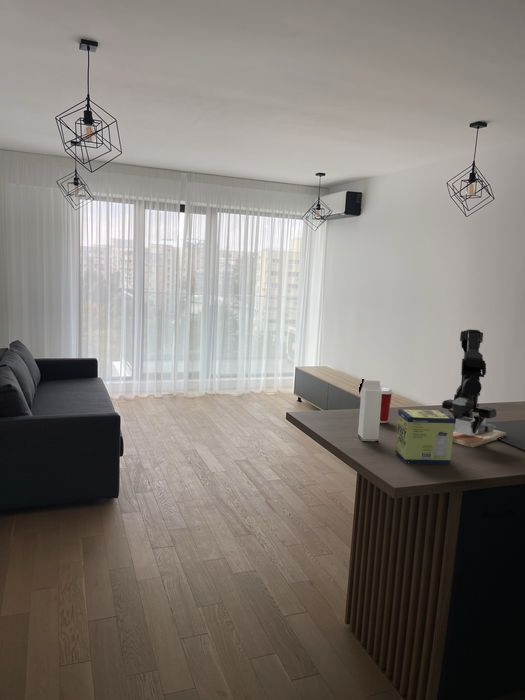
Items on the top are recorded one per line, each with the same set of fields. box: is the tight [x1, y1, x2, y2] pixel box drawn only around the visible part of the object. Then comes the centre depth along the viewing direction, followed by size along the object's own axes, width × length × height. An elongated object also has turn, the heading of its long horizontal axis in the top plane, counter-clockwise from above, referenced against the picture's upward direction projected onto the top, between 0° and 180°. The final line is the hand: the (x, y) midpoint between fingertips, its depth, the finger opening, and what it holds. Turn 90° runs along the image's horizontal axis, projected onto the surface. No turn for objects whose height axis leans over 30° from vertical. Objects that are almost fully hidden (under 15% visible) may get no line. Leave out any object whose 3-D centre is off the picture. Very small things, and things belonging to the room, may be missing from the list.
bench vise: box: [476, 418, 497, 435], centre depth 208 cm, size 5×14×7 cm, turn 131°
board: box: [452, 428, 507, 448], centre depth 205 cm, size 13×26×2 cm, turn 131°
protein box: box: [394, 408, 455, 465], centre depth 176 cm, size 10×16×16 cm
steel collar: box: [454, 417, 478, 436], centre depth 198 cm, size 6×6×5 cm
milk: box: [357, 380, 382, 440], centre depth 194 cm, size 6×6×22 cm
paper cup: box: [380, 386, 393, 421], centre depth 221 cm, size 8×8×14 cm
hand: (466, 431), depth 199 cm, fingers closed on steel collar, 6 cm apart
